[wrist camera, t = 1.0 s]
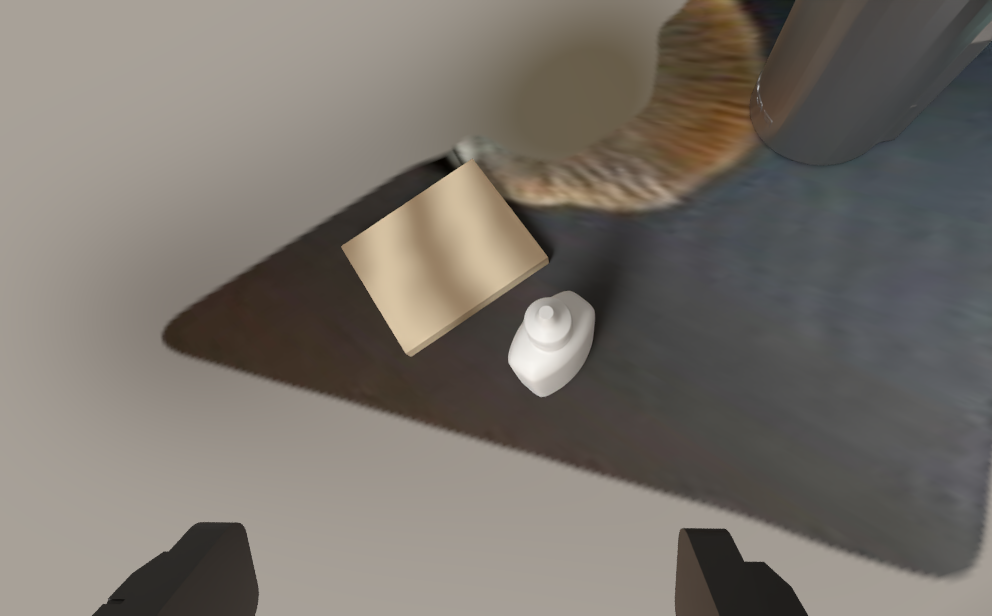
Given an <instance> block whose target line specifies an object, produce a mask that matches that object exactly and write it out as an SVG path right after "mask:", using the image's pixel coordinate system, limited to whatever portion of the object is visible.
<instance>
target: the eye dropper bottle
mask: <svg viewBox="0 0 992 616" xmlns="http://www.w3.org/2000/svg"><path fill="white" fill-rule="evenodd" d="M526 311H527V312H525V313H526V314H525V317H524V321H523V323H522V324H521V326H520V327H519V329H518V331H517V333H516V335H515V337H514V339H513V342H512V344H511V347H510V350H509V355H508V362H509V364H510V366H511V368H512V369H513V371H514V372H515V374H516V375H517V376H518V378H519V379H520V380H521V382H522V383H523V384H524V385H525V386H526V387H528V388H529V389H530V390H531V391H532V392H533V393H535V394H536V395H538V396H540V397H545V396H548V395H550V394H552V393H554V392H555V391H557V390H559V389H560V388H562V387H563V386H564V385H566V384H567V383H568V382H569V381H570V380H571V379H572V378H573V377H574V376H575V375H576V374H577V373H578V371H579V370H580V369H581V367H582V365H583V364H584V362H585V360H586V358H587V356H588V354H589V351H590V349H591V346H592V341H593V334H594V325H595V311H594V309H593V307H592V306H591V305H590V304H589V303H588V302H587V301H585V300H584V299H583V298H582V297H580V296H579V295H577V294H576V293H574V292H572V291H564V292H561V293H559V294H556V295H554V296H552V297H551V298H550V297H548V298H547V297H546V298H541V299H539V300H537V301H535V302H533V304H531V306H529V308H528V309H527V310H526Z"/></svg>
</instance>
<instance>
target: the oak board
mask: <svg viewBox="0 0 992 616" xmlns="http://www.w3.org/2000/svg"><path fill="white" fill-rule="evenodd" d="M341 248H342V249H343V251H344V253H345V254H346V256H347V258H348V259H349V261H350V262H351V264H352V266H353V267H354V269H355V271H356V272H357V274H358V276H359V277H360V279H361V281H362V282H363V284H364V286H365V287H366V289H367V291H368V292H369V294H370V295H371V297H372V299H373V300H374V302H375V304H376V305H377V307H378V309H379V310H380V312H381V314H382V315H383V317H384V319H385V320H386V322H387V323H388V325H389V327H390V328H391V330H392V332H393V333H394V335H395V337H396V338H397V340H398V342H399V343H400V345H401V347H402V348H403V350H404V351H405V353H406V354H407V355H409V356H410V357H412V356H413V355H415V354H416V353H418V352H419V351H421V350H422V349H423V348H425V347H426V346H428V345H429V344H431V343H432V342H434V341H435V340H437V339H438V338H440V337H441V336H443V335H444V334H445V333H447V332H448V331H450V330H451V329H453V328H454V327H456V326H457V325H459V324H460V323H462V322H463V321H465V320H466V319H468V318H469V317H470V316H472V315H473V314H475V313H476V312H478V311H479V310H481V309H482V308H484V307H485V306H487V305H488V304H490V303H491V302H493V301H494V300H495V299H497V298H498V297H500V296H501V295H503V294H504V293H506V292H507V291H509V290H510V289H512V288H513V287H515V286H516V285H517V284H519V283H520V282H522V281H523V280H525V279H526V278H528V277H529V276H531V275H532V274H534V273H535V272H537V271H538V270H540V269H541V268H542V267H544V266H545V265H547V264H548V263H549V260H548V256H547V255H546V254H545V253H544V251H543V250H542V249H541V247H540V246H539V245H538V243H537V242H536V241H535V239H534V238H533V237H532V236H531V234H530V233H529V232H528V230H527V229H526V228H525V226H524V225H523V224H522V222H521V221H520V220H519V219H518V217H517V216H516V215H515V213H514V212H513V211H512V209H511V208H510V207H509V205H508V204H507V203H506V202H505V200H504V199H503V198H502V196H501V195H500V194H499V192H498V191H497V190H496V188H495V187H494V186H493V185H492V183H491V182H490V181H489V179H488V178H487V177H486V175H485V174H484V173H483V171H482V170H481V169H480V168H479V166H478V165H477V164H476V162H475V161H474V160H473V159H471V160H470V161H468V162H467V163H465V164H464V165H462V166H461V167H459V168H458V169H456V170H455V171H453V172H452V173H450V174H449V175H447V176H446V177H444V178H443V179H441V180H440V181H438V182H437V183H435V184H434V185H432V186H431V187H429V188H428V189H426V190H425V191H423V192H422V193H420V194H419V195H417V196H416V197H414V198H413V199H411V200H410V201H408V202H407V203H405V204H404V205H402V206H401V207H399V208H398V209H396V210H395V211H393V212H392V213H390V214H389V215H387V216H386V217H384V218H383V219H381V220H380V221H379V222H377V223H376V224H374V225H373V226H371V227H370V228H368V229H367V230H365V231H364V232H362V233H361V234H359V235H358V236H356V237H355V238H353V239H352V240H350V241H349V242H347V243H346V244H344V245H343V246H341Z"/></svg>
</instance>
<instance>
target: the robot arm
mask: <svg viewBox="0 0 992 616" xmlns="http://www.w3.org/2000/svg"><path fill="white" fill-rule="evenodd" d="M991 41H992V0H796V1H795V3H794V5H793V7H792V9H791V11H790V13H789V15H788V18H787V20H786V22H785V24H784V26H783V28H782V30H781V32H780V35H779V37H778V39H777V41H776V43H775V45H774V47H773V49H772V52H771V54H770V56H769V58H768V60H767V62H766V64H765V66H764V69H763V70H762V71H761V73H760V75H759V78H758V81H757V84H756V86H755V88H754V90H753V92H752V96H751V100H750V117H751V120H752V124H753V127H754V128H755V130H756V132H757V133H758V135H759V137H760V138H761V139H762V140H763V141H764V142H765V143H766V144H767V145H768V146H769V147H770V148H771V149H773V150H774V151H776V152H777V153H778V154H780V155H782V156H784V157H786V158H789V159H791V160H793V161H797V162H801V163H805V164H811V165H833V164H839V163H843V162H847V161H850V160H853V159H855V158H857V157H859V156H861V155H863V154H864V153H866V152H867V151H868V150H869V149H871V148H872V147H873V146H874V145H876V144H877V143H879V142H883V141H891V140H894V139H895V138H896V137H897V136H898V135H899V134H900V133H901V132H902V131H903V130H904V129H905V128H906V127H907V126H908V125H909V124H910V123H911V122H912V121H913V120H914V119H915V118H916V117H917V116H918V115H919V114H920V113H921V112H922V111H923V110H924V109H925V108H926V107H927V106H928V105H929V104H930V103H931V102H932V101H933V100H934V99H935V98H936V97H937V96H938V95H939V94H940V93H941V92H942V91H943V90H944V89H945V88H946V87H947V86H948V85H949V84H950V83H951V82H952V81H953V80H954V78H955V77H956V76H957V75H958V74H959V73H960V72H961V71H962V70H963V69H964V68H965V67H966V66H967V65H968V64H969V63H970V62H971V61H972V60H973V59H974V58H975V57H976V56H977V55H978V54H979V53H980V52H981V51H982V50H983V49H984V48H985V47H986V46H987V45H988V44H989V43H990V42H991ZM258 596H259V592H258V584H257V579H256V575H255V570H254V565H253V561H252V556H251V552H250V547H249V543H248V538H247V533H246V530H245V528H244V526H243V525H242V524H241V523H223V522H221V523H220V522H216V523H215V522H200V523H197V524H195V525H194V526H192V527H191V528H190V529H189V530H188V531H187V532H186V533H185V534H184V536H183V537H182V538H181V539H180V540H179V541H178V542H177V543H176V544H175V545H174V546H173V548H172V549H171V550H170V551H169V552H163V553H161V554H160V555H158V556H157V557H155V558H154V559H152V560H151V561H149V562H148V563H147V564H145V565H144V566H142V567H141V568H139V569H138V570H136V571H135V572H134V573H132V574H131V575H130V576H129V577H128V578H127V579H126V581H125V582H124V583H123V584H122V585H121V586H120V587H119V588H118V589H117V590H116V591H115V592H114V593H113V594H112V595H111V596H110V597H109V598H108V602H107V604H103V605H102V606H101V607H100V608H99V609H98V610H97V611H96V612H95V613H94V614H93V615H92V616H255V613H256V609H257V605H258ZM675 612H676V616H808V615H807V613H806V611H805V609H804V608H803V606H802V604H801V602H800V601H799V599H798V597H797V596H796V594H795V592H794V591H793V589H792V587H791V586H790V585H789V584H788V583H787V582H785V581H784V580H783V579H782V578H781V577H780V576H779V575H778V574H777V573H775V572H774V571H773V570H772V569H771V568H770V567H769V566H768V565H767V564H766V563H764V562H744V560H743V558H742V556H741V554H740V552H739V550H738V548H737V546H736V545H735V543H734V540H733V538H732V536H731V535H730V533H729V532H728V531H727V530H726V529H695V528H690V529H689V528H683V529H681V530H680V532H679V540H678V555H677V571H676V588H675Z"/></svg>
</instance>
